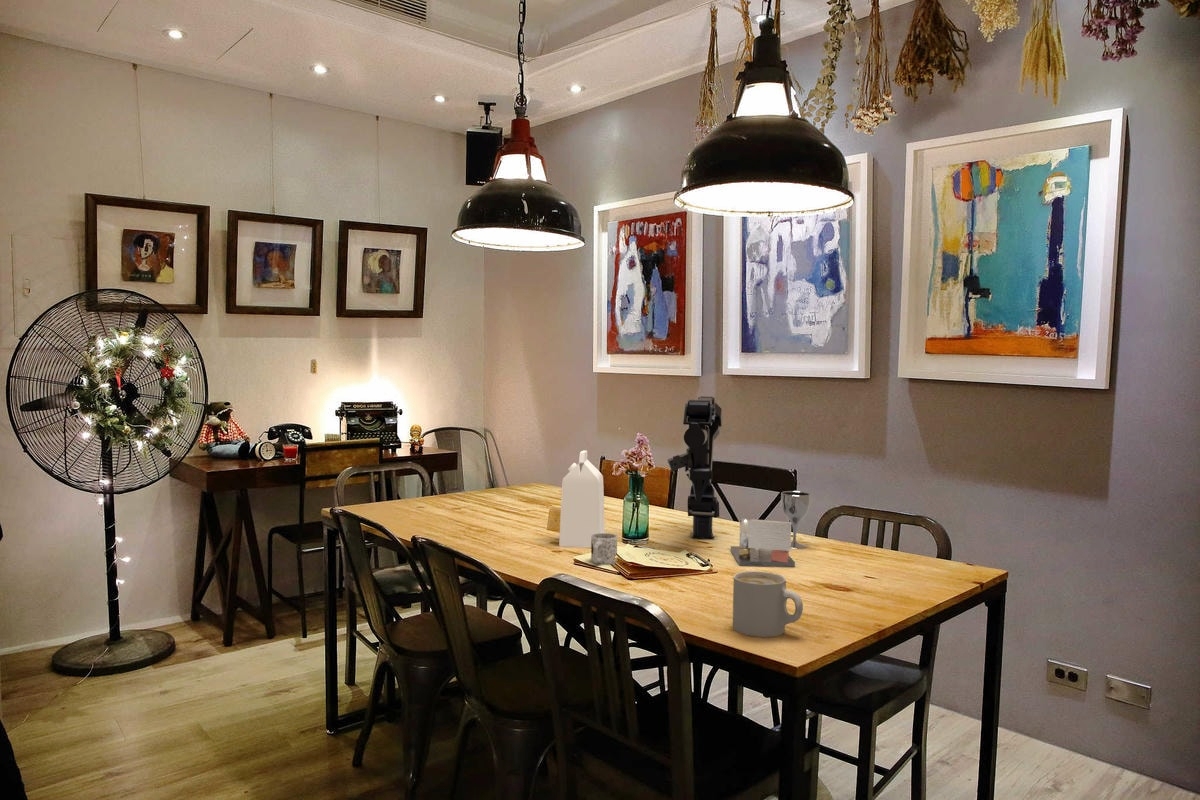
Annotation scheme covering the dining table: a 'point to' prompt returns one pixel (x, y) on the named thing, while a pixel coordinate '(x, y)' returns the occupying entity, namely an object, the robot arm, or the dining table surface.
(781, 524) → the swing bar
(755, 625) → the coffee mug
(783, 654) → the dining table surface
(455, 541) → the dining table surface
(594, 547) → the mug
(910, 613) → the dining table surface
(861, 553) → the dining table surface
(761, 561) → the base
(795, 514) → the wine glass
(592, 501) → the milk
